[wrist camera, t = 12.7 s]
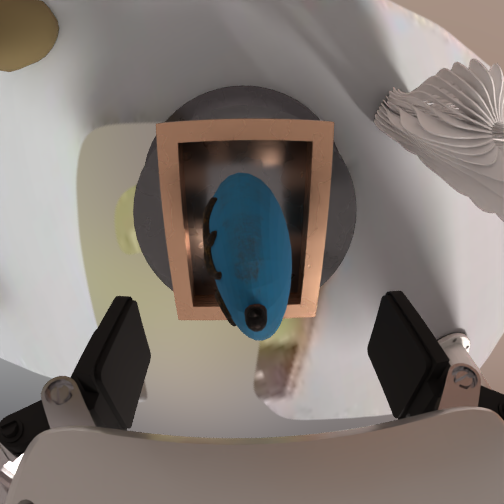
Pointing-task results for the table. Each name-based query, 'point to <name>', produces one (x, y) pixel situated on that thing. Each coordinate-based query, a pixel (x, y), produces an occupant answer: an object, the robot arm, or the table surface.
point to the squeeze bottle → (25, 33)
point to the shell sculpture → (455, 129)
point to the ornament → (248, 254)
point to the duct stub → (257, 164)
